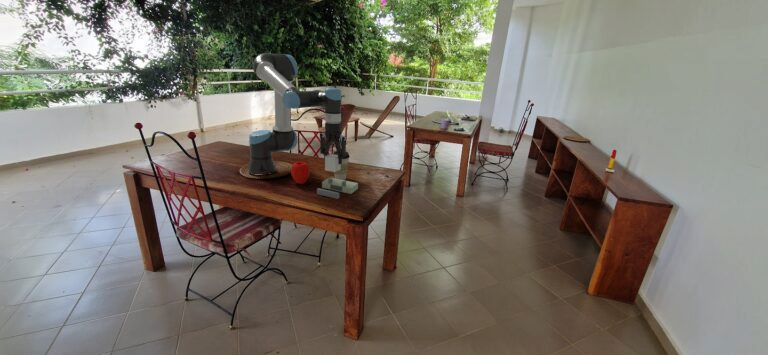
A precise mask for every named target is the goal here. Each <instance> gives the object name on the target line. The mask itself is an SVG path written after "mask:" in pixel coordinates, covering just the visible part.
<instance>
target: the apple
mask: <svg viewBox="0 0 768 355" xmlns="http://www.w3.org/2000/svg"><path fill="white" fill-rule="evenodd" d="M290 173H291V176H292V179H293V180H294V181H295V183H297V184H298V185H299V184H300V185H303V184H305V183H306V182H307V181H308V179H309V176H310V173H311V172H310V166H309V165H308V163H307V162H306V161H301V160H297V161H295V162H294V163H293V164H292V165H291V168H290Z"/></svg>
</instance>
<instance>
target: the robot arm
mask: <svg viewBox="0 0 768 355" xmlns="http://www.w3.org/2000/svg"><path fill="white" fill-rule="evenodd" d="M298 68H299V67H298V63H297V61H296V58H294V57H293V55H291V54H285V53H269V52H264V53H260V54H257V56H256V57H255V58H254V59H253V61H252V70H253V73H254V74H255V76H256V77H258V79H260V80H262V81H264V82H266V83H267V84H268V85H269V86H270V87H271V88H272V89H273V90H274V92H273V93H274V123H275V124H274V126H273V127H272V131H271V130H268V129H263V130H262V129H260V130H255V131H252V132H251V133H250V134H249V135H248V138H249V140H248V144H249V154H250V161H249V165H248V168H247V171H249V172H248V174H249V173H252V174H269V173H273V172H275V171H276V172H277V167H276V164H275V162H274V159H273V154H274V153H278V152H279V153H280V152H286V151H287V152H288V151H290V150H294V149H295V148H296V146H297V144H298V134H297V132H296V131H295V130H294V127H292V126H291V123H292V122H291V117H292V116H291V114H292V113H291V111H292V110H291V109H293V110H295V109H303V108H304V109H305V108H320V107H321V108H324V121H325V122H324V132H322V133H320V134H319V138H320V148H319V153H320V155H323V162H325V156H327V155H330V153H329V151H330V148H331V144H332V142H333V144H334V146H335V152H336V151H337V155H338V157H337V171H339V170H341V164H342V157H344V156H346V152H347V146H346V145H347V144H346V143H347V138H348V137H347V136H346V135H345V136H344V135H342V133H341V131H342V99H343V97H342V90H341V88H337V87H326V88H324V90H321V89H313V90H299V89H298V88H297V87H296V86H294V84H293V82H294V78H295V77H297V75H298V73H299V69H298ZM276 172H275V173H276ZM273 174H274V173H273Z"/></svg>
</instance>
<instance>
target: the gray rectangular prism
mask: <svg viewBox="0 0 768 355" xmlns="http://www.w3.org/2000/svg"><path fill="white" fill-rule="evenodd" d="M337 157H338V155H334V154H333V153H329V154H328V155H327V156H325V161H324V170H325V171H327V172H332V173H334V172H336V171H337Z"/></svg>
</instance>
